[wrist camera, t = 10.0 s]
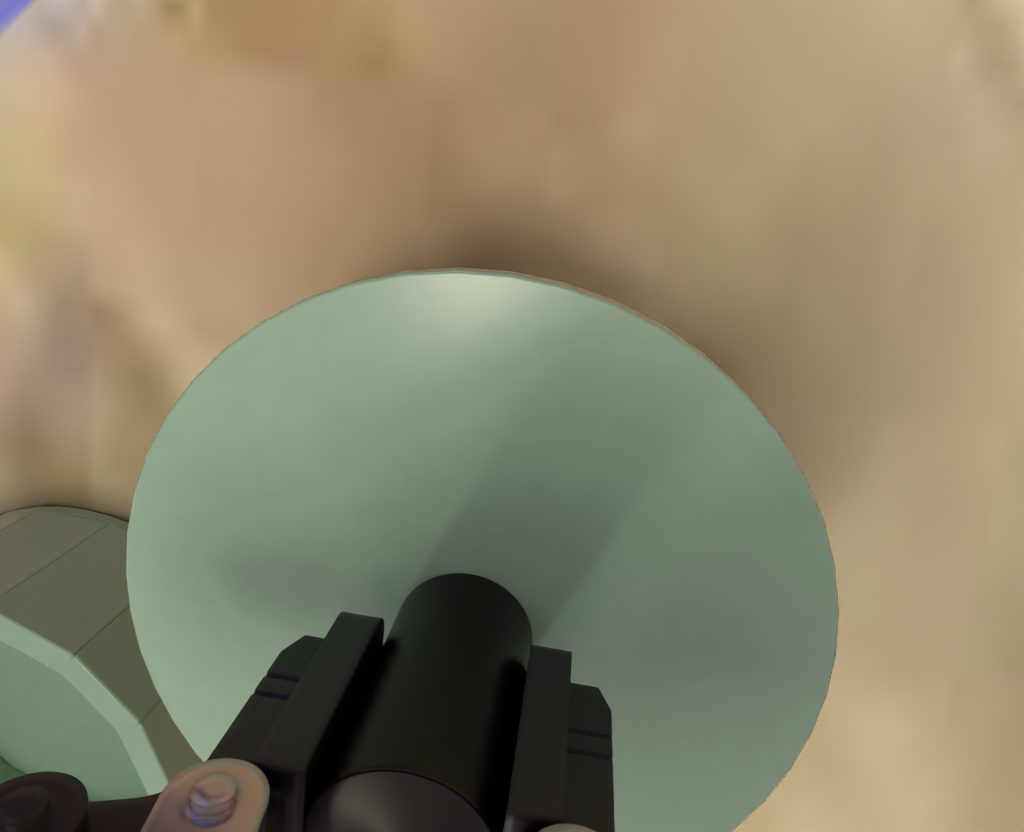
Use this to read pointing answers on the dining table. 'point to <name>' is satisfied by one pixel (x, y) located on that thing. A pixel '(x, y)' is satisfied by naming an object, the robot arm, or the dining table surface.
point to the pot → (77, 660)
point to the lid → (488, 547)
